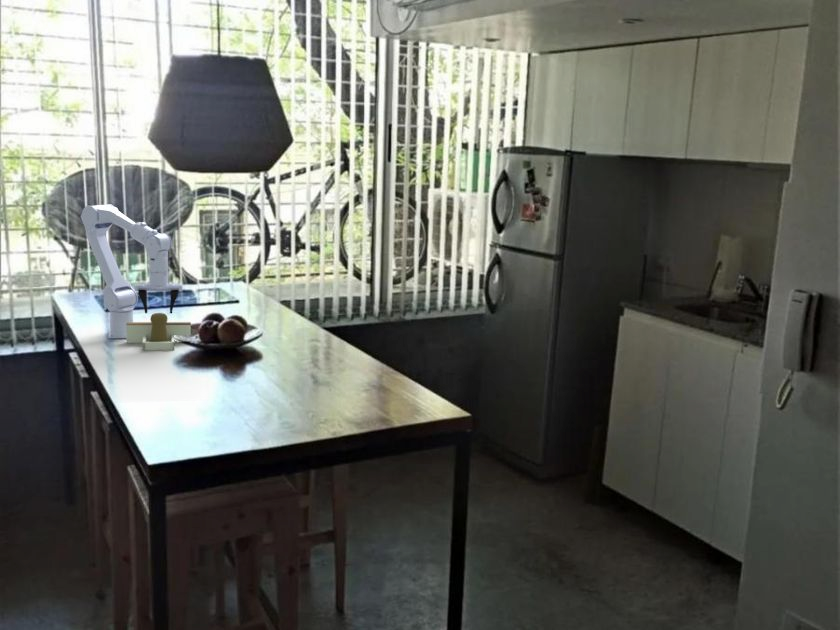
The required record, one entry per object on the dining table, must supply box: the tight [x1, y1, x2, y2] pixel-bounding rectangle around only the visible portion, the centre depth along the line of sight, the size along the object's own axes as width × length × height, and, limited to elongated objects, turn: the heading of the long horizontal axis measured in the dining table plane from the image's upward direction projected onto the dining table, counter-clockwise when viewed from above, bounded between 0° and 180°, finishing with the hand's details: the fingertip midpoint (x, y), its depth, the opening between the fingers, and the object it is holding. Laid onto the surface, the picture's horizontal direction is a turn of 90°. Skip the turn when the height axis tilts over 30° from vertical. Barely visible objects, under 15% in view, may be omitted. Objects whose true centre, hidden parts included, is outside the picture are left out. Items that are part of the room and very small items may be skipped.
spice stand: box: [126, 321, 192, 351], centre depth 265 cm, size 10×20×7 cm, turn 106°
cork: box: [150, 312, 168, 342], centre depth 264 cm, size 6×6×11 cm
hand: (158, 312), depth 266 cm, fingers open, 7 cm apart
